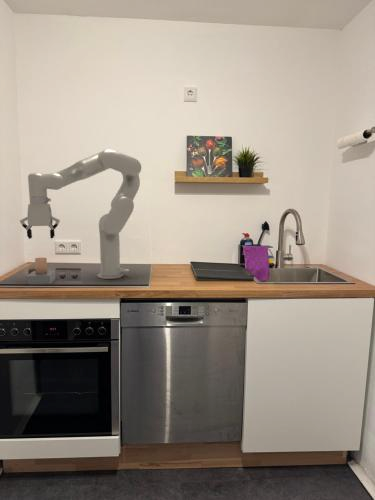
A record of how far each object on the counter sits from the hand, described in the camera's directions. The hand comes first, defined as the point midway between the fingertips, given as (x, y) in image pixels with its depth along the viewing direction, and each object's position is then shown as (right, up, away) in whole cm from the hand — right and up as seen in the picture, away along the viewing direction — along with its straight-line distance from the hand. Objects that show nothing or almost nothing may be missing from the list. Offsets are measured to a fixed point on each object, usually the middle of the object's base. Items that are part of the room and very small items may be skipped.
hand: (41, 238), depth 162 cm
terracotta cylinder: (-1, -16, +2) cm, 16 cm away
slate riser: (-1, -20, +2) cm, 21 cm away
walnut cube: (-9, -19, +12) cm, 24 cm away
